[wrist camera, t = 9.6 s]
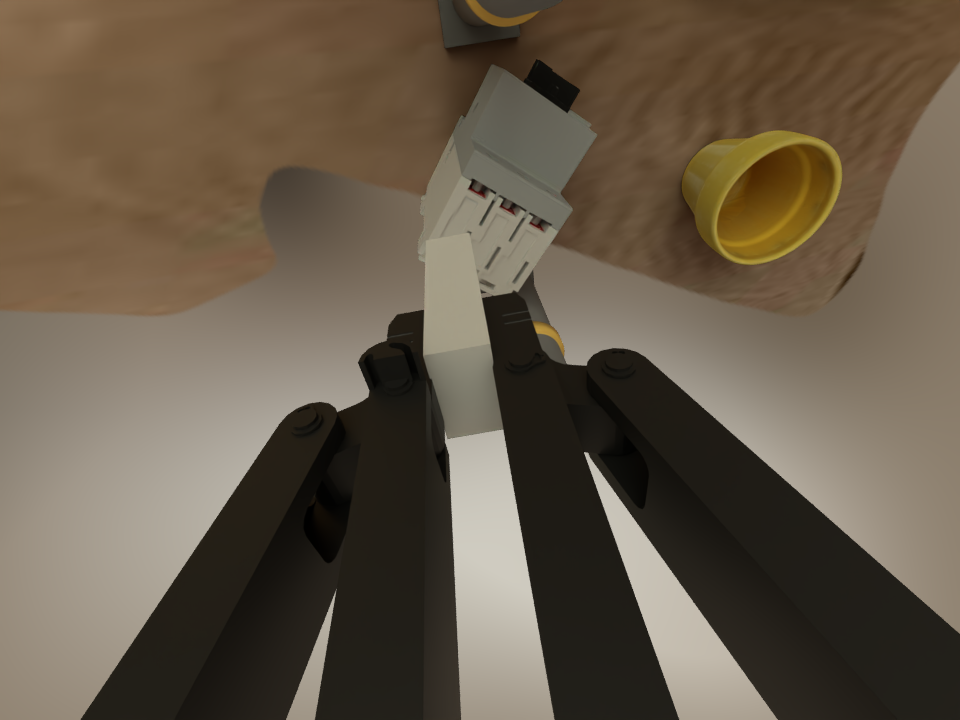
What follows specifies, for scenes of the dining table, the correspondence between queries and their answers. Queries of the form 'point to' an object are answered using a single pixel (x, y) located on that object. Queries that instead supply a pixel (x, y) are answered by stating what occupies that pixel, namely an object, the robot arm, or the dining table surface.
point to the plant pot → (761, 193)
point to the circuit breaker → (508, 174)
